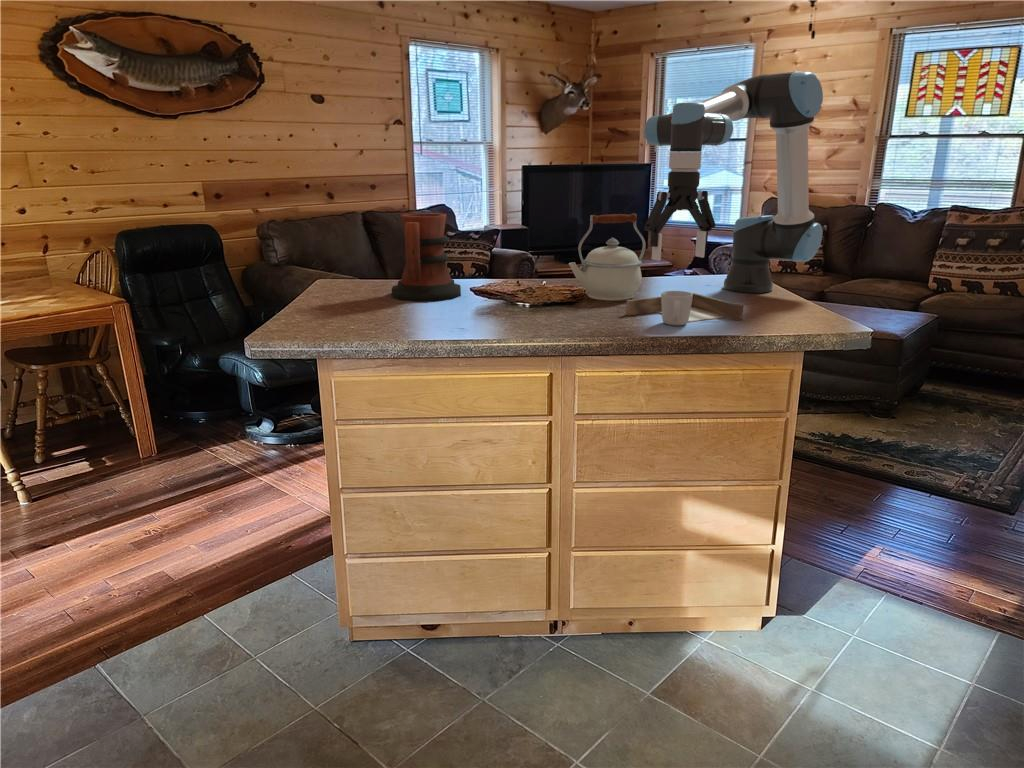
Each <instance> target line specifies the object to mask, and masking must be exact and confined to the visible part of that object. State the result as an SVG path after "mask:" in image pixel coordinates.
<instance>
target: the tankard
mask: <svg viewBox="0 0 1024 768" xmlns="http://www.w3.org/2000/svg"><path fill="white" fill-rule="evenodd" d="M399 218H400V221H401V224H402V225H401V226H402V229H403V234H404V235H403V236H401V242H402V245H404V246H405V253H403V255H402V262H403V263H404V267H403V271H402V275H401V279H400V280H398V281H397V284H396V285H393V286H392V287H391V299H395V300H398V301H404V302H413V303H432V302H433V303H434V302H443V301H450V300H453V299H454V300H455V299H457V298H460V297H461V296H462V293H461V292H462V289H461V284H458V283H455V279H453V278H452V277H451V274H450V272H449V267H448V265H447V263H446V262H449V257H448V253H446V252H444V245H447V244H448V243H447V242H448V241H447V240H448V237H447V235H445V229H446V222H447V213H434V212H432V213H431V212H419V213H418V212H417V213H404V214H403V213H402V214H400V217H399Z"/></svg>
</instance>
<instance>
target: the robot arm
mask: <svg viewBox="0 0 1024 768" xmlns="http://www.w3.org/2000/svg"><path fill="white" fill-rule="evenodd" d="M823 96H824V93H823V87H822V83H821V81H820V79H819V77H818V76H817V75H816V74H815V73H813V72H810V71H789V72H778V73H772V74H771V73H770V74H760V75H756V76H753V77H749V78H747V79H744V80H742V81H739V82H737V83H734V84H732V85H729V86H727V87H725V88H724V89H723V90H722V92H720V93H719V94H717V95H714V96H711V97H710V98H706V99H704V100H702V101H699V102H696V101H695V102H693V101H692V102H690V101H689V102H678V103H675V104H674V105H673V107H672V112H671V113H667V114H664V115H662V114H658V115H652V116H650V117H649V118H648V119H646V122H645V124H644V125H645V126H644V129H643V130H644V138H645V140H646V142H647V143H648V144H649V145H651V146H659V147H663V146H665V147H666V146H670V147H669V148H670V149H669V158H668V159H669V160H668V169H670V171H669V172H668V175H667V176H668V177H667V187H668V191H661V190H660V191H657V193H656V198H655V199H656V200H655V202H654V205H653V206H652V209H651V212H650V213H649V216H648V218H647V220H646V222H645V224H644V226H643V230H644V231H647V232H648V233H650V247H651V248H652V249H651V260H653V261H658V262H660V261H661V260H662V247H663V245H662V244H663V233H660V232H661V231H662V230H663V228H664V227H665V226H666V224H667V223H668V221H669V220H670V218H671V217H672V216H673V214H674V213H676V212H677V211H683V210H684V211H689V213H690V215H691V217H692V219H693V220H694V222H695V224H696V225H697V227H698V229H699V230H696V238H695V239H696V240H695V251H694V257H698V258H702V259H703V258H705V252H706V244H707V243H708V237H709V232H711V231H712V229H714V228H716V222H715V219H714V215H713V212H712V208H711V206H710V203H709V193H708V190H702V189H701V190H700V189H699V190H698V187H699V186H700V179H701V178H700V177H701V173H700V171H699V170H700V169H701V166H702V149H703V146H711V147H713V146H714V147H717V146H721V145H725V144H726V143H727V142H729V140H730V139H731V138H732V135H733V133H734V123H733V122H736V121H740V120H744V119H769V128H770V129H772V130H773V131H774V132H775V152H776V153H775V157H776V159H775V160H776V184H777V185H776V188H777V190H776V192H777V194H776V195H777V213H776V215H770V214H768V215H767V214H766V215H758V216H757V215H756V216H747V217H740V218H737V219H736V220H735V222H734V228H733V239H732V251H731V262H730V263H731V264H730V267H729V269H728V272H727V274H726V278H724V281H723V289H724V290H727V291H730V292H736V293H737V292H738V293H750V294H751V293H752V294H756V293H757V294H759V293H768V292H772V291H773V287H774V286H773V285H774V282H773V280H772V274H771V269H770V261H771V260H770V259H772V260H780V261H788V262H794V263H797V262H802V263H806V262H809V261H810V260H813V258H814V257H815V255H816V254H817V253H818V250H819V249H820V247H821V244H822V240H823V232H824V231H823V230H824V229H823V226H822V225H821V223H819V222H815V213H813V212H812V211H811V210H810V209H809V208H810V207H809V205H810V204H809V201H810V199H809V198H810V197H809V194H810V193H809V184H810V183H809V127H810V126H811V125H812V124H813V123H814V121H815V119H814V118H815V117H816V116H817V115H818V114H819V113H820V111H821V109H822V104H823V102H824V101H823V100H824V97H823ZM696 200H697V202H698V203H697V202H696ZM667 201H668V202H667Z"/></svg>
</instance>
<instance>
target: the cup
mask: <svg viewBox="0 0 1024 768" xmlns="http://www.w3.org/2000/svg"><path fill="white" fill-rule="evenodd" d="M692 293H693V292H690V291H685V290H667V291H662V292H661V294H660V297H661V303H662V314H661V318H662V321H663V323H664V324H666V325H669V326H674V327H675V326H684V325H686V324H688V323H689V322H688V320H689V315H690V309H691V304H692V298H693V294H692Z"/></svg>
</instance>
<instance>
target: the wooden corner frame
mask: <svg viewBox="0 0 1024 768" xmlns="http://www.w3.org/2000/svg"><path fill="white" fill-rule="evenodd" d="M691 293H692V294H693V298H692V304H691V309H690V315H689V320H688V322H687V323H693V322H700V321H701V322H702V321H708V320H710V321H711V320H716V319H725V318H727V319H731V320H734V321H738V322H740V321H742V322H743V315H744V307H745V306H744V305H742V304H739V303H735V302H730V301H727V300H723V299H719V298H715V297H711V296H708V295H704V294H699V293H695V292H691ZM625 309H626V310H625V315H626V316H635V315H636V316H637V315H644V314H652V313H656V314H660V315H662V303H661V296H654V297H645V298H644V297H643V298H638V299H637V298H635V299H628V300H626V306H625Z"/></svg>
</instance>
